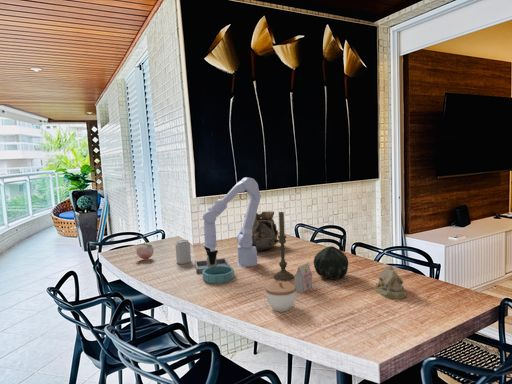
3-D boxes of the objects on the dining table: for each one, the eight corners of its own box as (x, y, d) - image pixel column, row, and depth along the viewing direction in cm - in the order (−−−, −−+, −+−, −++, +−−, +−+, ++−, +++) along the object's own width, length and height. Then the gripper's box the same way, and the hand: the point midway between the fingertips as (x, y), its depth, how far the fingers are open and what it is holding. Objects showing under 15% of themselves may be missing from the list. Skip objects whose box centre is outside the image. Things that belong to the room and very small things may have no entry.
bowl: (231, 271, 170) (230, 264, 170) (236, 281, 157) (236, 273, 156) (201, 275, 167) (201, 267, 167) (204, 285, 153) (204, 277, 153)
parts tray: (225, 262, 186) (225, 258, 185) (230, 270, 172) (229, 265, 172) (194, 266, 182) (194, 261, 182) (197, 274, 168) (196, 269, 168)
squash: (329, 256, 169) (317, 237, 161) (358, 263, 159) (346, 243, 150) (316, 282, 163) (302, 263, 155) (345, 291, 152) (332, 271, 144)
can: (187, 265, 184) (186, 242, 183) (174, 265, 186) (172, 242, 184) (193, 261, 191) (191, 239, 190) (180, 260, 193) (178, 239, 192)
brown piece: (256, 242, 229) (254, 209, 227) (288, 246, 215) (287, 210, 213) (231, 251, 208) (229, 215, 207) (264, 256, 195) (263, 217, 193)
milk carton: (295, 290, 143) (294, 266, 142) (304, 286, 148) (304, 262, 147) (302, 293, 140) (302, 268, 139) (312, 288, 145) (311, 263, 144)
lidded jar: (264, 303, 132) (263, 278, 131) (293, 300, 133) (292, 276, 132) (268, 315, 121) (267, 288, 120) (299, 313, 122) (298, 286, 121)
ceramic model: (371, 286, 145) (370, 262, 144) (398, 285, 145) (398, 261, 144) (383, 300, 131) (383, 273, 130) (414, 298, 131) (414, 272, 130)
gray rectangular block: (215, 265, 179) (215, 254, 179) (216, 268, 176) (216, 256, 175) (206, 266, 178) (206, 254, 178) (207, 269, 175) (207, 257, 174)
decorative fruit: (157, 257, 202) (155, 240, 201) (151, 261, 194) (150, 243, 193) (141, 257, 203) (139, 240, 202) (134, 261, 195) (133, 243, 194)
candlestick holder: (295, 274, 162) (293, 209, 160) (291, 281, 154) (288, 212, 151) (276, 273, 165) (274, 209, 163) (270, 279, 157) (268, 212, 154)
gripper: (200, 233, 182) (201, 259, 183) (203, 239, 168) (204, 267, 169) (214, 231, 183) (215, 257, 184) (218, 237, 169) (219, 265, 170)
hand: (211, 262), depth 177 cm, fingers open, 7 cm apart
